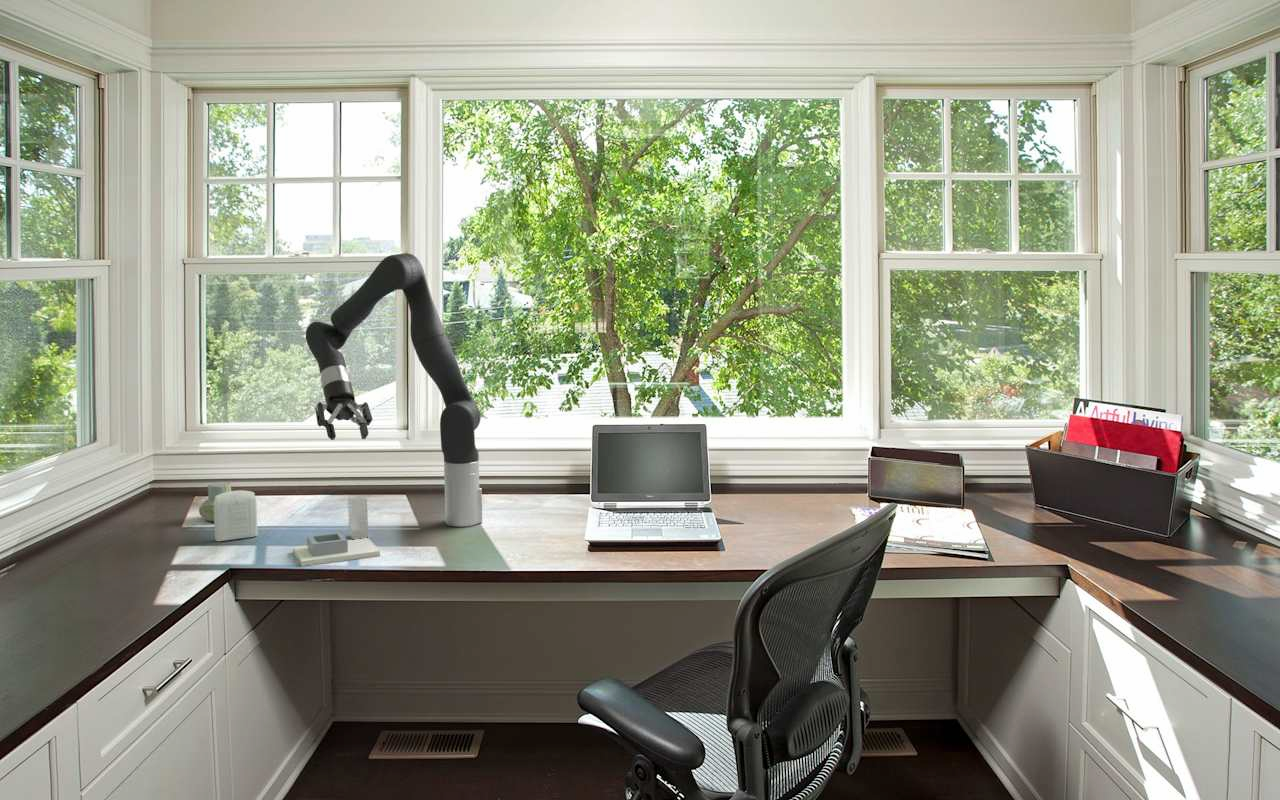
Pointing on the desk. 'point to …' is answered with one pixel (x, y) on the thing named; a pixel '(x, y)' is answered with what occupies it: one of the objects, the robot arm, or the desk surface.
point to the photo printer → (235, 515)
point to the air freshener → (208, 506)
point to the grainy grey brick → (358, 517)
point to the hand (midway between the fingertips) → (349, 438)
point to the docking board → (333, 549)
